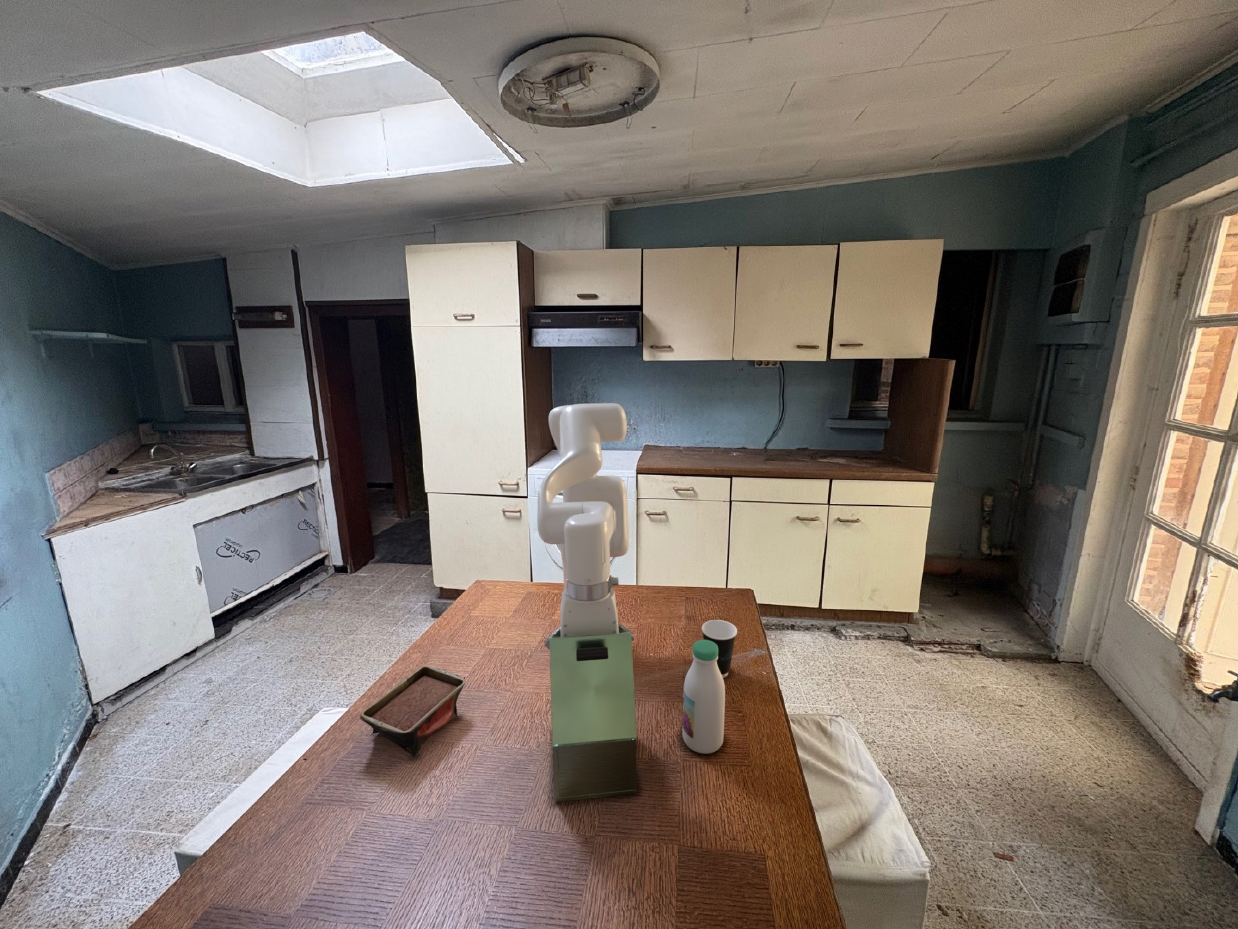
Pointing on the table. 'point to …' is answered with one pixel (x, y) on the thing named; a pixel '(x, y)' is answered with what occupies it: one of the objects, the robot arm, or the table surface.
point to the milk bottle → (704, 700)
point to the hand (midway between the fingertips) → (590, 676)
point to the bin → (594, 769)
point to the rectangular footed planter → (415, 707)
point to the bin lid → (592, 688)
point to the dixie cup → (721, 641)
